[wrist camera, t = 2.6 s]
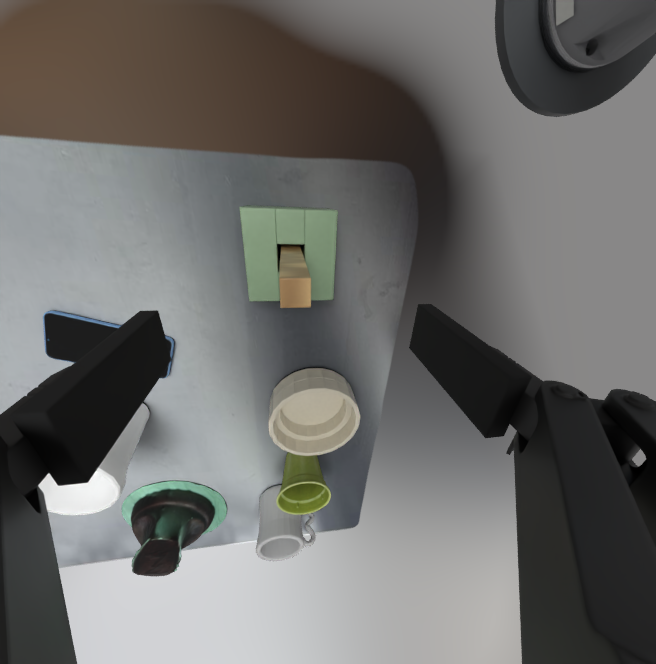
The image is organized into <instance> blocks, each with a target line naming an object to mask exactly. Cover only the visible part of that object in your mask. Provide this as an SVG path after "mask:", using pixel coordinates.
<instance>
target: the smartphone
mask: <svg viewBox="0 0 656 664" xmlns="http://www.w3.org/2000/svg"><path fill="white" fill-rule="evenodd" d="M43 324H44V339H45V351H46V354H47V355H48V356H49V357H51V358H53V359H58V360H63V361H69V362H74V363H75V362H77V361H78V360H79V359H80V358H82V357H83V356H84V355H85V354H87V353H88V352H89V351H91V350H92V349H93V348H94V347H96V346H97V345H98V344H99V343H101V342H102V341H103V340H104V339H106V338H107V337H108V336H109V335H111V334H112V333H113V332H114V331H116V330H117V329H118V328H119V327H121V326H120V325H116V324H111V323H107V322H103V321H98V320H94V319H89V318H85V317H81V316H76V315H72V314H68V313H63V312H59V311H48V312H46V313H45V314H44V316H43ZM165 338H166V341H167V345H168V348H169V352H170V356H171V359H172V356H173V350H174V341H173V339H172V338H170V337H168V336H165ZM171 362H172V360H171ZM171 362H170V363H169V365H168V366H167V368H166V369H165V370H164V372H163V373H162V375H161V376H160V378H166V377H167V376H168V375H169V373H170V368H171Z"/></svg>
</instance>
